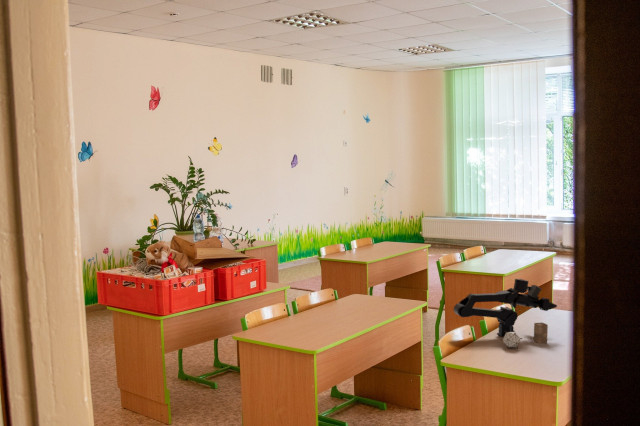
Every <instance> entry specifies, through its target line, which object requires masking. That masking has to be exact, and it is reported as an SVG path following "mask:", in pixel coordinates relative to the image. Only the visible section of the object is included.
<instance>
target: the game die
mask: <svg viewBox="0 0 640 426" xmlns="http://www.w3.org/2000/svg"><path fill="white" fill-rule="evenodd" d="M505 332H506V331H505ZM522 339H523V338H522V337H520V336H518V334H517V333H516V331H515V330H513V332H506V334H505V336H504V337H502V340H500V342H503V343H504V344H505V345H506V346H507V349H508V350H509V349H510V348H517V349H518V348H519V347H518V345H519V343H520V340H522Z"/></svg>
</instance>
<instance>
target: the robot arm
mask: <svg viewBox="0 0 640 426" xmlns="http://www.w3.org/2000/svg"><path fill="white" fill-rule="evenodd" d="M529 282H530V281H529V280H526V279H523V278H522V279H521V278H515V279H514V283H513V287H511V288H508V289H507V290H501V291H500V290H499V291H497V292H495V293H493V292H492V293H491V292H490V293H469V294H468V295H466V297H464V298H463V299H461V300H460V301H459V302H458V303H456V304H455V305H454V306H453V312H454V314H456V315H457V316H459V317H460V318H469V317H483V318H484V317H485V318H486V317H487V318H494V319H495V318H496V319H497V320H496V321H497V322H498V332H497V333H496V335H498V336H500V337H502V338H504V336H505V334H506V332H513V331H514V325H515V323H516V321H517V319H518V316H519V315H518V313H517V312H516V311H515V310H514V309H516V308H517V305H519V306H522V307H527V308H529V307H530V308H534V309H537V307H538V308H539V310H541V311H545V312H548V311H549V310H553V309H555V308H557V307H558V305H557V304H555V303H553V302H551V301H550V299H549V298H545V297H541V298H539V297H540V296H539V295H540V292H541V291H542V288H541V287H539V286H538V285H536V284H531V285H530V286H529ZM491 302H492V303H493V302H498V303H503V304H508V305H510V306H511V307H512V308H510V307H507V306H506V307H504V306H500V307H499V309H493V308H482V307H474V305H475V304H476V303H491ZM513 308H514V309H513ZM505 331H506V332H505Z"/></svg>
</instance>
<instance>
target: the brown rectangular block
mask: <svg viewBox="0 0 640 426" xmlns="http://www.w3.org/2000/svg"><path fill="white" fill-rule="evenodd" d="M548 327H549V326H548V324H547V323H544V322H534V323H533V341H534V342H535V343H538V344H547V343H548Z"/></svg>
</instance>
